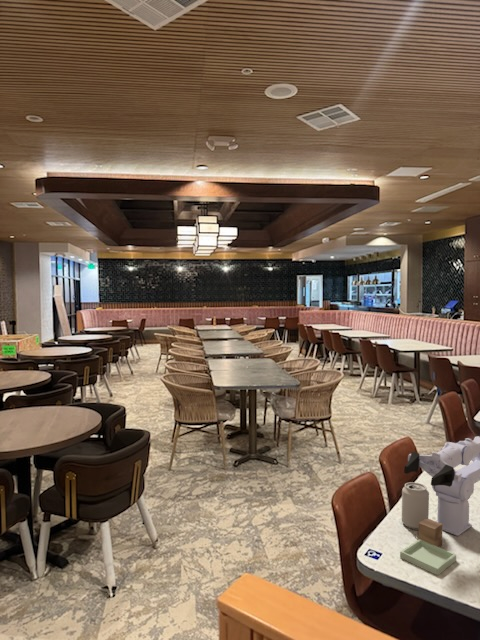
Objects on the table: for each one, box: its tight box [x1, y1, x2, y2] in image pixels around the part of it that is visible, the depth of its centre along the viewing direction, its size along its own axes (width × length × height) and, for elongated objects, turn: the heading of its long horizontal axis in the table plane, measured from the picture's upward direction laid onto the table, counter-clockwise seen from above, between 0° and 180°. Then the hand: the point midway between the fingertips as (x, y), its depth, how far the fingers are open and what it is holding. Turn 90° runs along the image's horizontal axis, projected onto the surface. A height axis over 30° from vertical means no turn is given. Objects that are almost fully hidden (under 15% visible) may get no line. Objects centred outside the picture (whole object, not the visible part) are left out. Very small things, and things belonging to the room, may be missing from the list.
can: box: [401, 481, 430, 531], centre depth 136 cm, size 8×8×12 cm
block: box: [417, 517, 443, 548], centre depth 125 cm, size 4×4×6 cm
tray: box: [399, 539, 457, 576], centre depth 118 cm, size 10×10×2 cm
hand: (418, 475), depth 122 cm, fingers open, 7 cm apart
